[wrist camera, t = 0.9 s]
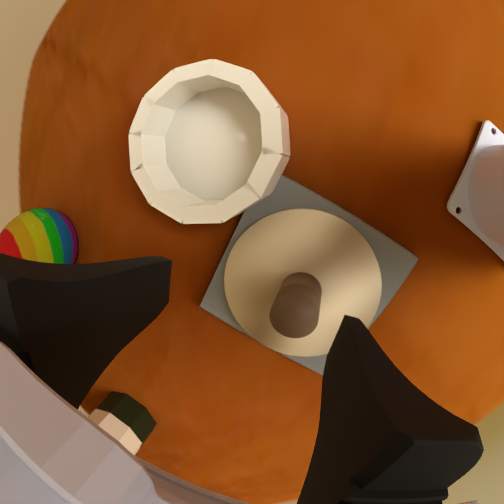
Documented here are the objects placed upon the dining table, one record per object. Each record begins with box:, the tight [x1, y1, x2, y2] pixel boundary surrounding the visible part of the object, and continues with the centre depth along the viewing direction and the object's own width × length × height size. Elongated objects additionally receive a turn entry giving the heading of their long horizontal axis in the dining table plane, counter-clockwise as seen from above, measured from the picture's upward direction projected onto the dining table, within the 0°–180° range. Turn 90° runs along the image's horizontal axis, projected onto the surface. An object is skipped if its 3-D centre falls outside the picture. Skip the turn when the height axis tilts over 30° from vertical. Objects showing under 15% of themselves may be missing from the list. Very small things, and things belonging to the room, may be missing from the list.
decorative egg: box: [0, 208, 78, 264], centre depth 22 cm, size 8×8×10 cm
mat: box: [200, 175, 419, 375], centre depth 20 cm, size 12×12×1 cm
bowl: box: [129, 59, 290, 224], centre depth 17 cm, size 10×10×4 cm
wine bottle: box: [88, 392, 156, 455], centre depth 19 cm, size 8×8×30 cm
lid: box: [224, 208, 382, 357], centre depth 17 cm, size 11×11×4 cm
